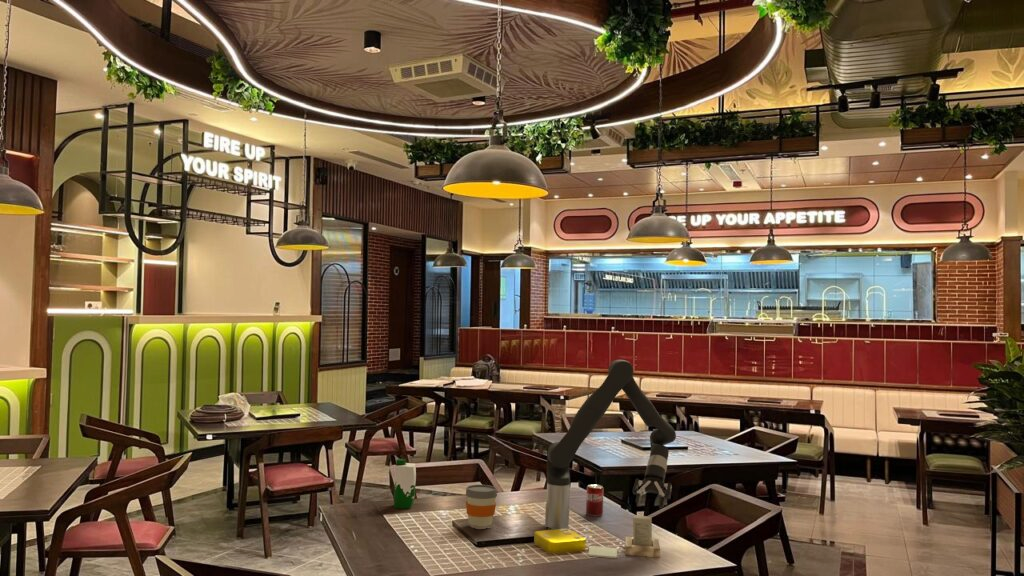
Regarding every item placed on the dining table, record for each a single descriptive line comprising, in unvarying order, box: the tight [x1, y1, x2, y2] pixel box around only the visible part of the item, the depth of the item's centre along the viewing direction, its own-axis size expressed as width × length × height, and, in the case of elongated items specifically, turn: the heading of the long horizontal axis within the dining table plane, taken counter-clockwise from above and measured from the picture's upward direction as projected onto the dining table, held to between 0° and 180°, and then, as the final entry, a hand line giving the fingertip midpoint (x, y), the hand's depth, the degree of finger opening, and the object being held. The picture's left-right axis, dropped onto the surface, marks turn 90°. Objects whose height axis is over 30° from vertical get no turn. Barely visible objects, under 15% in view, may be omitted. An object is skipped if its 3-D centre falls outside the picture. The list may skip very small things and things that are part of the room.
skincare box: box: [632, 515, 653, 546], centre depth 259 cm, size 6×4×12 cm
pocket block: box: [624, 536, 661, 559], centre depth 258 cm, size 12×12×3 cm
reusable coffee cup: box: [465, 484, 498, 526], centre depth 283 cm, size 13×13×15 cm
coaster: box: [587, 545, 618, 559], centre depth 254 cm, size 10×10×1 cm
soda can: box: [585, 484, 605, 517], centre depth 308 cm, size 7×7×12 cm
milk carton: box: [393, 458, 417, 510], centre depth 310 cm, size 9×9×20 cm
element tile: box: [533, 528, 587, 555], centre depth 261 cm, size 15×15×5 cm
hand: (649, 505), depth 268 cm, fingers open, 8 cm apart
